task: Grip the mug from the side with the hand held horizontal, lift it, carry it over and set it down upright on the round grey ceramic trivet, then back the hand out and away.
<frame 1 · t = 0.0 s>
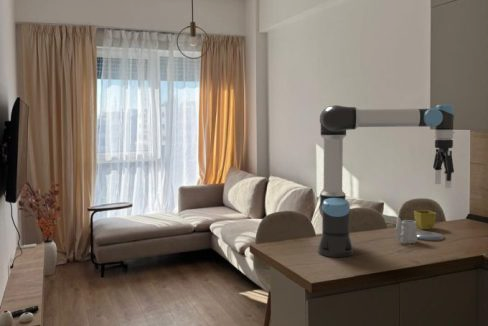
hand: (442, 186, 210), 28 cm above the table, tool pointing down, fingers open, 13 cm apart
flower pot: (424, 228, 248), on the table
trivet: (427, 237, 229), on the table
mug: (405, 242, 220), on the table
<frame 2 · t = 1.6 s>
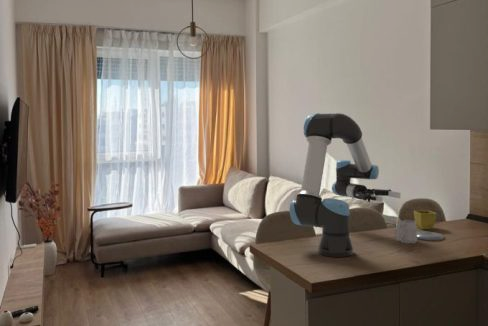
hand: (391, 197, 224), 21 cm above the table, tool horizontal, fingers open, 13 cm apart
nothing on the table moved.
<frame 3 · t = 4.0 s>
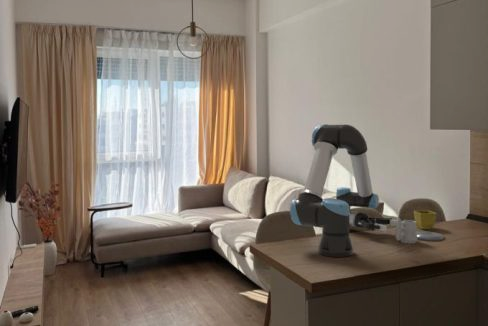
hand: (394, 226, 225), 6 cm above the table, tool horizontal, fingers open, 13 cm apart
nothing on the table moved.
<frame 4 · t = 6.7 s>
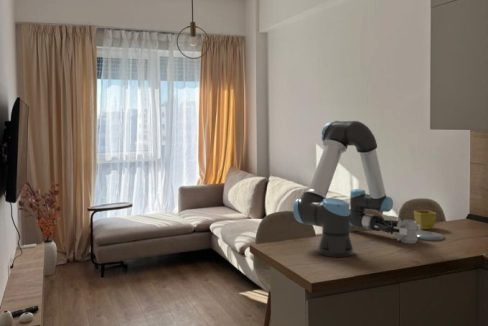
hand: (413, 230, 217), 6 cm above the table, tool horizontal, fingers closed on mug, 11 cm apart
mug: (405, 242, 220), on the table, touching gripper
everything else where it was.
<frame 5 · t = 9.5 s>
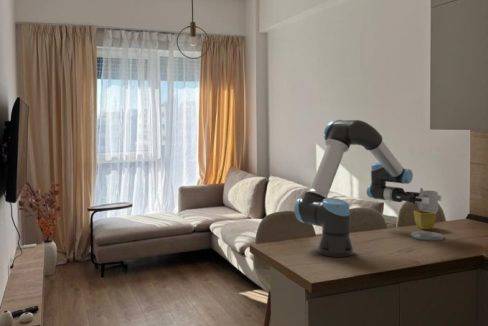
hand: (435, 199, 224), 19 cm above the table, tool horizontal, fingers closed on mug, 11 cm apart
mug: (427, 211, 228), point 13 cm above the table, touching gripper
everything else where it was.
when the fingers open (9 cm above the table, at t = 12.5 s): mug drops 1 cm, resting on trivet.
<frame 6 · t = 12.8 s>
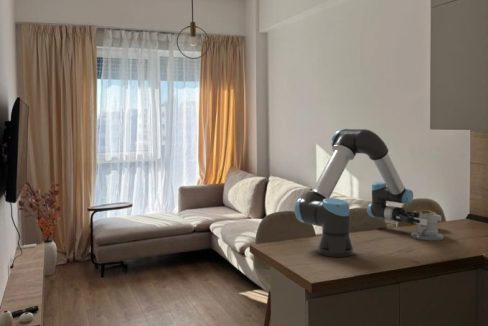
hand: (433, 220, 226), 9 cm above the table, tool horizontal, fingers open, 13 cm apart
mug: (426, 235, 229), point 1 cm above the table, touching trivet
everything else where it was.
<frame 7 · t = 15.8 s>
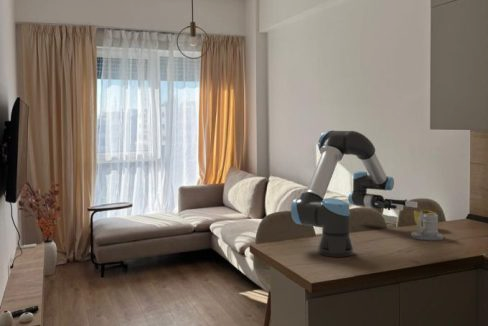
hand: (410, 206, 235), 14 cm above the table, tool horizontal, fingers open, 13 cm apart
nothing on the table moved.
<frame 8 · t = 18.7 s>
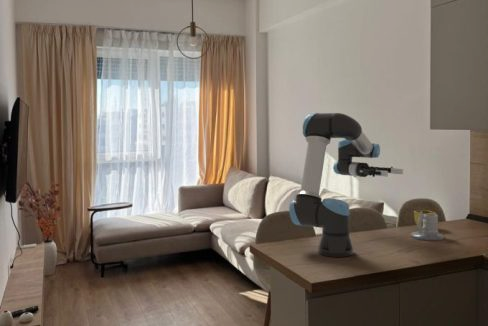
hand: (395, 172, 229), 32 cm above the table, tool horizontal, fingers open, 13 cm apart
nothing on the table moved.
at the end: mug inside the target area on the trivet (0.1 cm from its centre), point 1.0 cm above the trivet's base; mug tilted 0°; the gripper is holding nothing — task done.
